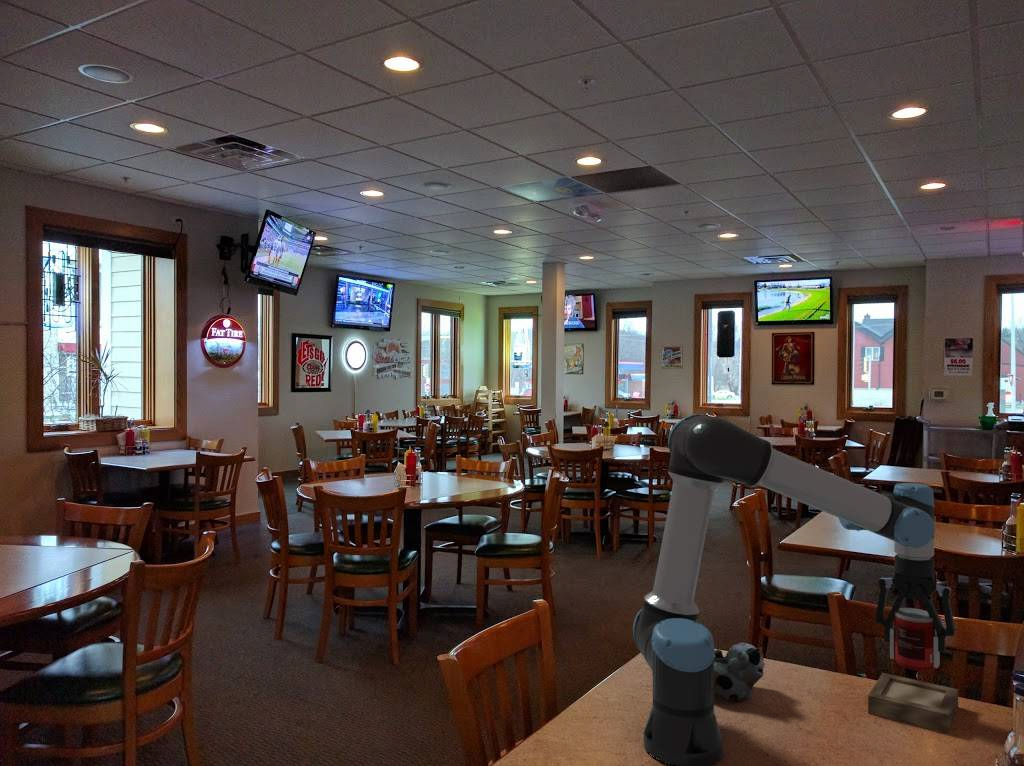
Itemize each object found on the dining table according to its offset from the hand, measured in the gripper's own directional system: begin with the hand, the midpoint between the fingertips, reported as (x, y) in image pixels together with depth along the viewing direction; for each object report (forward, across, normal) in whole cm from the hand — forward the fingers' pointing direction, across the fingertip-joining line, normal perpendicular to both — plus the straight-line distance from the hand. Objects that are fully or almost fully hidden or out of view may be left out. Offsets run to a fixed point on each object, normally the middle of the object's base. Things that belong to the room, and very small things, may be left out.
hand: (914, 661), depth 159 cm
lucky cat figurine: (+11, +35, +15) cm, 40 cm away
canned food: (+1, 0, 0) cm, 1 cm away
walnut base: (+11, 0, 0) cm, 11 cm away
